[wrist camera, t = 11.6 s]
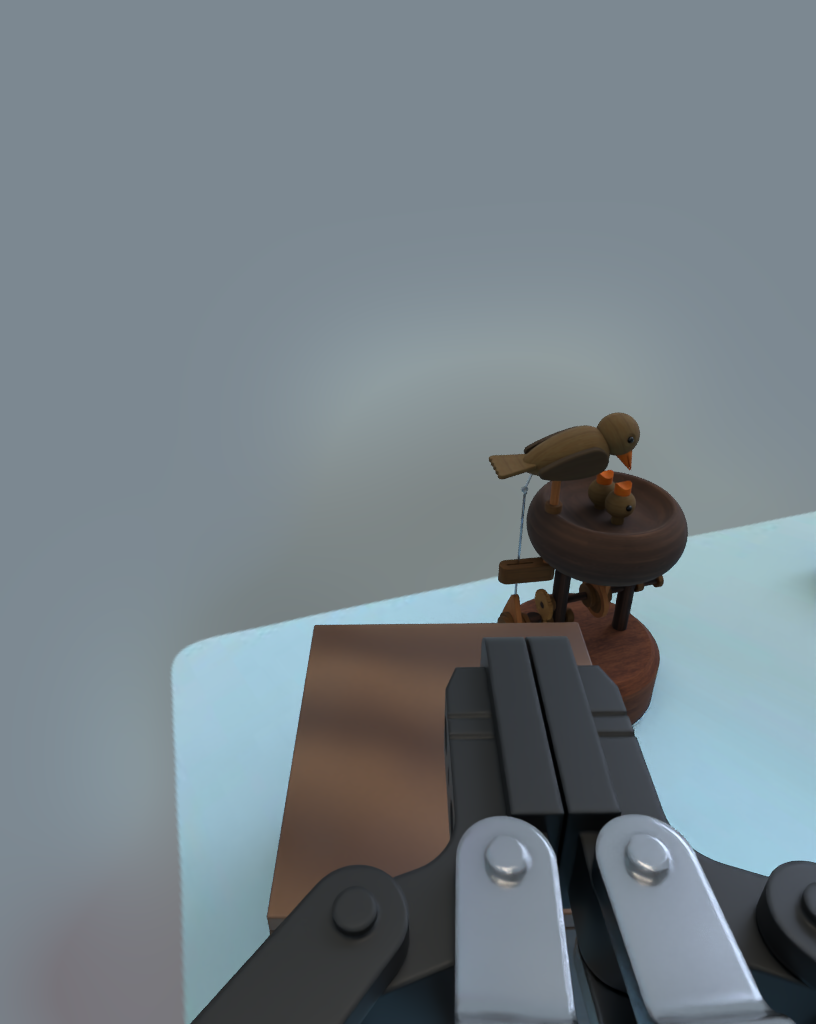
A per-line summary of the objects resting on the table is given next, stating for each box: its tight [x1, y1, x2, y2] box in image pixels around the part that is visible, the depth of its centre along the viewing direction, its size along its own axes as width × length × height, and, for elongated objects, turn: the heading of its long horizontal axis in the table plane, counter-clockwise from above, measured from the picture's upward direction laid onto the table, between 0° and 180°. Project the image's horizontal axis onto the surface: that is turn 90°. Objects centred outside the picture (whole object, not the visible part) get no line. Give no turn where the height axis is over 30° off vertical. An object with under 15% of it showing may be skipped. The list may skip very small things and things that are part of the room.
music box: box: [489, 413, 688, 724], centre depth 44 cm, size 15×11×20 cm
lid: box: [267, 622, 592, 930], centre depth 29 cm, size 14×13×1 cm
